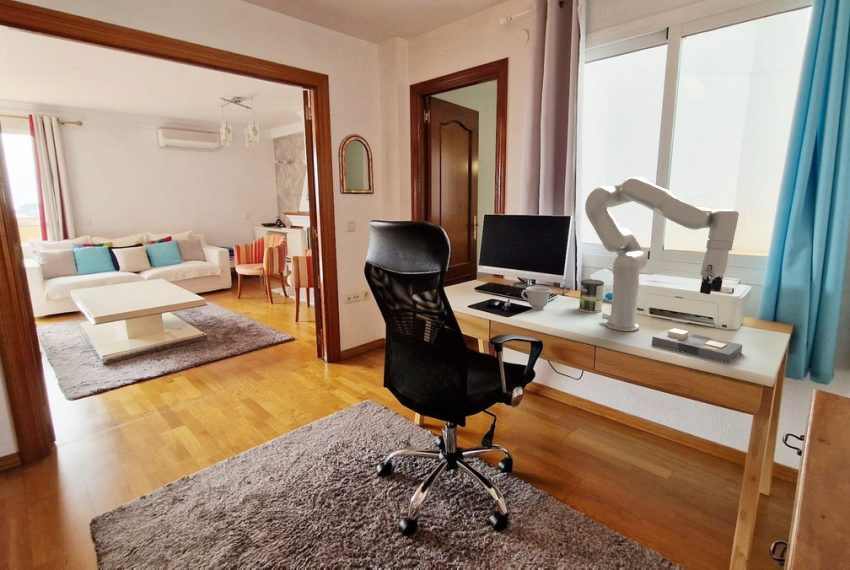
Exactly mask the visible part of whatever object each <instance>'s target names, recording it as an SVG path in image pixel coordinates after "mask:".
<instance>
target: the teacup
mask: <svg viewBox="0 0 850 570" xmlns="http://www.w3.org/2000/svg"><path fill="white" fill-rule="evenodd" d="M551 291H552V289H551V288H550V287H547V286H542V285H541V286H540V285H539V286H538V285H537V286H536V285H533V286H528V287H526V288H525V289H523V290H522V291H521V294H520V295H521V296H520V297H522V299H523V300H525V301H526V300H527V301H528V304H529V306H531V309H532V310H535V311H542V310H544V307H545V306H547V305H548V302H549V297H550V292H551ZM524 293H525V294H526V295H527V297H526V296H525V295H524Z"/></svg>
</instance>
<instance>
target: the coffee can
mask: <svg viewBox="0 0 850 570" xmlns="http://www.w3.org/2000/svg"><path fill="white" fill-rule="evenodd" d="M604 285H605V282H604V281H603V280H600V279H599V280H598V279H593V278H592V279H588V278H587V279H581V280H580V294H579V295H580V296H579V305H578V306H579V307H578V309H579V311H581V312H585V313H589V314H594V313H600V312H602V311H603V310H602V308H603V298H604V297H603V296H604Z"/></svg>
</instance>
